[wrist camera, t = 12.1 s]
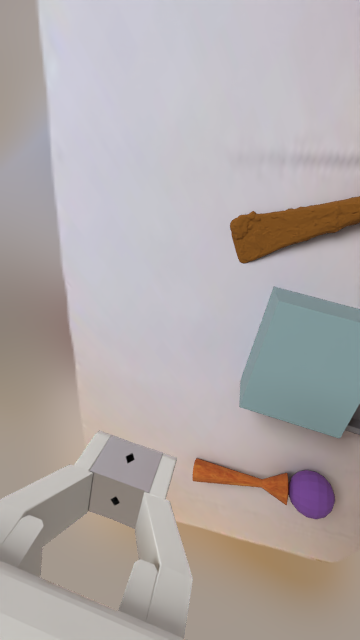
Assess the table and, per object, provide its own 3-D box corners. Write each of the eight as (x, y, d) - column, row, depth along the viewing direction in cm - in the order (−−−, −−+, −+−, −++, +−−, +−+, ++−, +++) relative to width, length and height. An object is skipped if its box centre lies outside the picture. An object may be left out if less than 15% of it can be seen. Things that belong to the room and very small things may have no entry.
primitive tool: (239, 264, 36) (239, 269, 33) (227, 219, 35) (225, 220, 32) (422, 209, 31) (443, 209, 27) (416, 153, 29) (437, 146, 26)
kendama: (190, 464, 44) (340, 495, 38) (199, 442, 49) (331, 465, 44) (190, 499, 45) (336, 534, 39) (199, 473, 50) (327, 501, 45)
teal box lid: (273, 286, 36) (278, 300, 30) (375, 313, 34) (399, 333, 29) (240, 380, 41) (239, 406, 36) (327, 407, 40) (339, 438, 34)
